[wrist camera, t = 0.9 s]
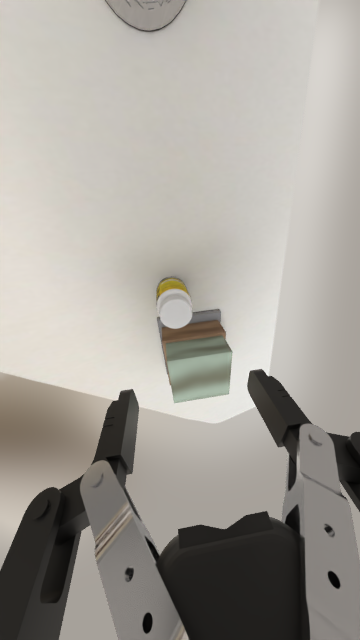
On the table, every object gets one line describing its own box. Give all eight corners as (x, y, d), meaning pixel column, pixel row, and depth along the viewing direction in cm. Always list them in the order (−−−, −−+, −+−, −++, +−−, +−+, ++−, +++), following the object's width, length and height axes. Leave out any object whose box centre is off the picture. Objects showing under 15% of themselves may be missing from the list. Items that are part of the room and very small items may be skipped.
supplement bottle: (153, 279, 26) (151, 300, 19) (182, 273, 26) (192, 291, 19) (160, 307, 28) (161, 335, 21) (187, 301, 28) (198, 327, 21)
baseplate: (157, 317, 29) (157, 320, 28) (218, 309, 30) (220, 311, 29) (167, 371, 36) (167, 374, 35) (217, 363, 36) (219, 366, 35)
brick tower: (161, 327, 29) (162, 359, 22) (217, 319, 30) (236, 348, 23) (168, 369, 34) (171, 405, 27) (216, 361, 34) (231, 395, 28)
